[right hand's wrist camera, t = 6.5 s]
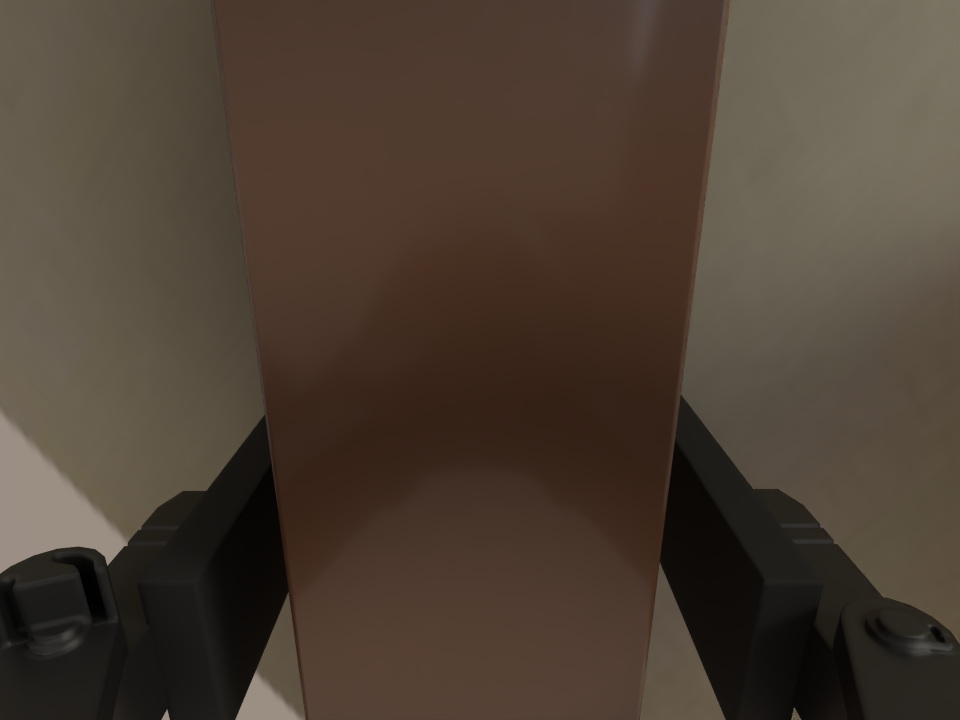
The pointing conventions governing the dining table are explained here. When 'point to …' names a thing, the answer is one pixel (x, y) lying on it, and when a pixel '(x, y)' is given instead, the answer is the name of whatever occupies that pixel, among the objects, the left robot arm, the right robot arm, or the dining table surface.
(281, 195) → the walnut block
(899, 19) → the dining table surface
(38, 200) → the dining table surface
